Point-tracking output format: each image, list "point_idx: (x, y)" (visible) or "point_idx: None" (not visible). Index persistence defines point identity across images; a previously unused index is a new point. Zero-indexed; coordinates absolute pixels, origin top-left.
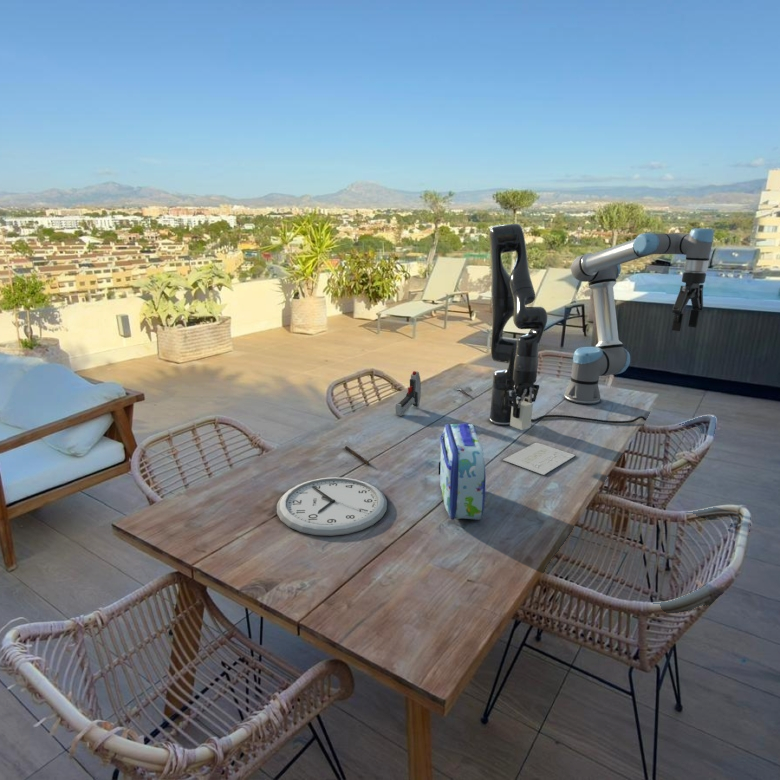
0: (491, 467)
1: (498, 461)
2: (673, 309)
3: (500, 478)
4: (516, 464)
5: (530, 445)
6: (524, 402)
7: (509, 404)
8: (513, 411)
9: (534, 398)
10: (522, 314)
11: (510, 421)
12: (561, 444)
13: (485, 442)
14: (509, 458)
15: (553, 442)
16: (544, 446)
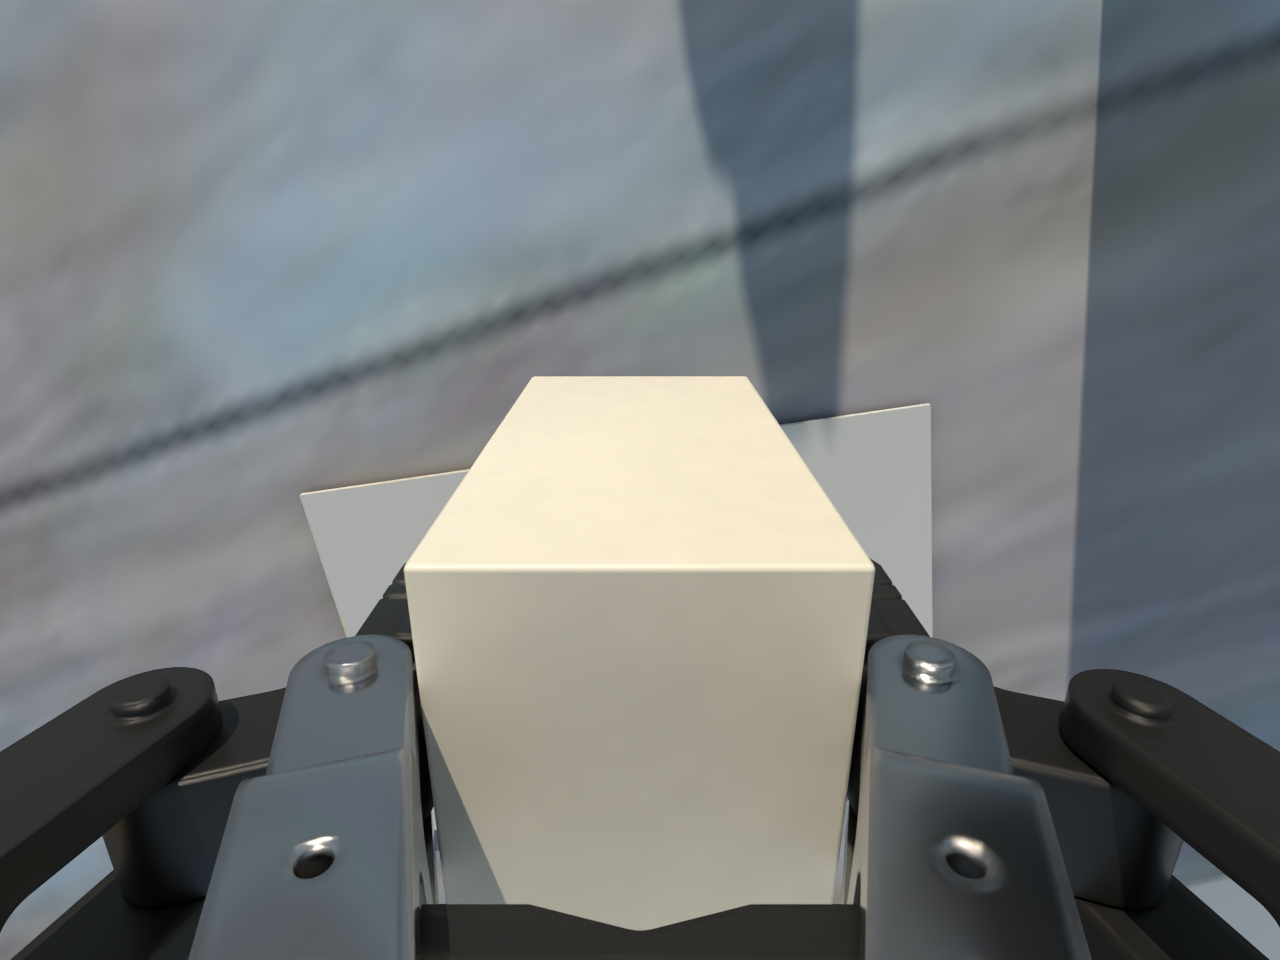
0: (119, 528)
1: (261, 480)
2: None
3: (73, 694)
4: (346, 627)
5: (808, 428)
6: (722, 798)
7: (88, 726)
8: (379, 616)
9: (1123, 947)
10: None
11: (518, 398)
12: (1093, 558)
13: (468, 22)
14: (380, 514)
15: (1086, 486)
16: (898, 521)
